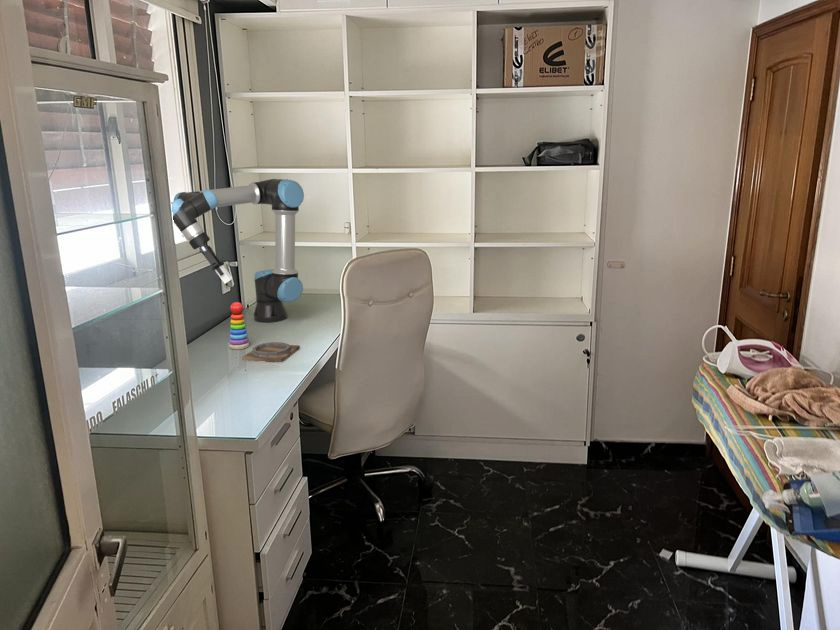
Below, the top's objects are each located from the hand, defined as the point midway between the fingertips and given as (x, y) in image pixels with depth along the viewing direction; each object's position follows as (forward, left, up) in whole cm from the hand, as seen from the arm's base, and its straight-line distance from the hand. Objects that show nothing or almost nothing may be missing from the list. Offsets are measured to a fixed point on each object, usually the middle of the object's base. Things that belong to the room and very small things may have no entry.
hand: (228, 281), depth 256 cm
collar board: (+9, +20, -27) cm, 35 cm away
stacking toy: (+3, +3, -27) cm, 27 cm away
